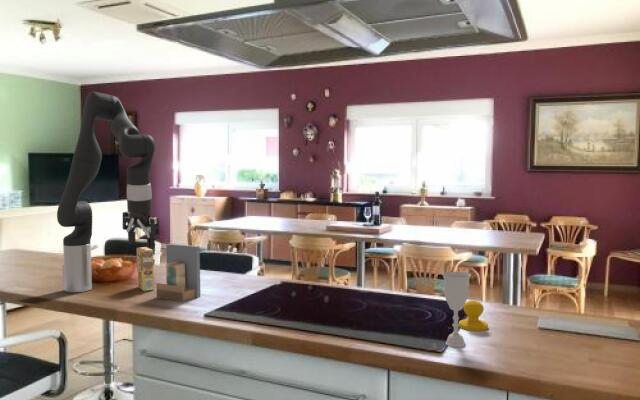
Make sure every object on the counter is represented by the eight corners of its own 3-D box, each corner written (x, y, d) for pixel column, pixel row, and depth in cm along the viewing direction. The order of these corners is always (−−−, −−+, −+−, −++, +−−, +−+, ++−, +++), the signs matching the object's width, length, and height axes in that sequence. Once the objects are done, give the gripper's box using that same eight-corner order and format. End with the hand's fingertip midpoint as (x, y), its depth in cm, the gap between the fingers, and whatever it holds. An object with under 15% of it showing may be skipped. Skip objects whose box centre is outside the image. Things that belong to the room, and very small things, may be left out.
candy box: (154, 290, 197) (153, 249, 196) (143, 291, 195) (142, 250, 194) (148, 285, 204) (147, 246, 204) (136, 287, 202) (135, 247, 201)
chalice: (465, 339, 139) (466, 271, 138) (474, 348, 132) (474, 277, 131) (438, 339, 139) (438, 272, 138) (445, 348, 132) (445, 277, 131)
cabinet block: (166, 289, 185) (165, 264, 184) (174, 287, 189) (174, 262, 188) (177, 290, 183) (176, 265, 182) (185, 288, 186) (184, 263, 186)
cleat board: (154, 297, 186) (153, 246, 185) (170, 292, 193) (169, 243, 192) (185, 301, 180) (184, 249, 178) (200, 296, 187) (199, 246, 185)
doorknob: (454, 328, 149) (463, 321, 156) (483, 332, 145) (491, 325, 151) (455, 302, 149) (464, 296, 155) (483, 306, 144) (491, 299, 151)
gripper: (164, 198, 169) (165, 246, 172) (133, 192, 175) (135, 238, 179) (146, 202, 162) (148, 252, 166) (114, 196, 169) (116, 244, 173)
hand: (141, 245), depth 173 cm, fingers open, 8 cm apart
